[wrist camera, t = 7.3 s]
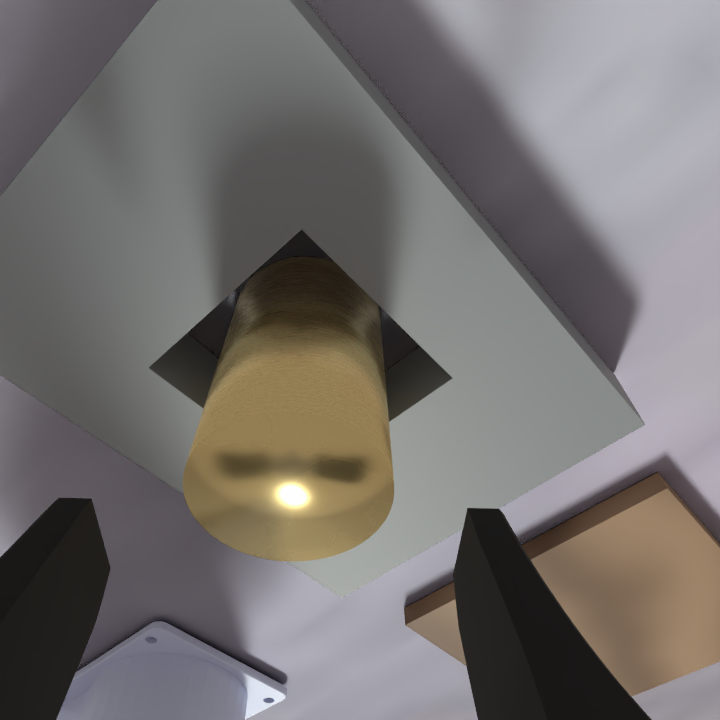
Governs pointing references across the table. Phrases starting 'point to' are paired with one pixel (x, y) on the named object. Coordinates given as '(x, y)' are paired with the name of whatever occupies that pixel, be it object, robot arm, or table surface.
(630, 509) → the stand pad
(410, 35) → the table surface
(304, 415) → the brass peg
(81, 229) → the grey square socket plate
